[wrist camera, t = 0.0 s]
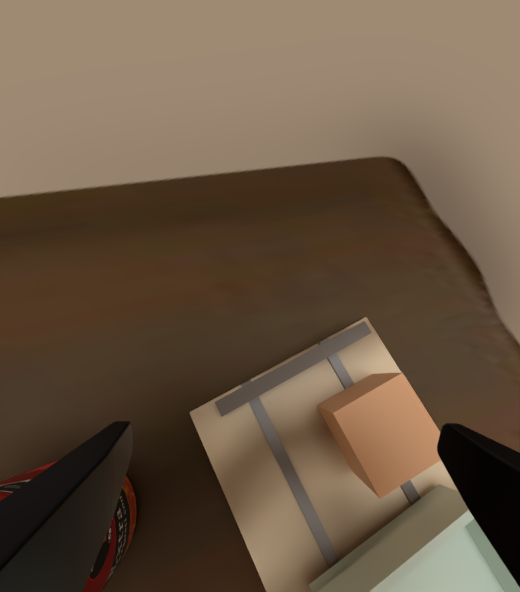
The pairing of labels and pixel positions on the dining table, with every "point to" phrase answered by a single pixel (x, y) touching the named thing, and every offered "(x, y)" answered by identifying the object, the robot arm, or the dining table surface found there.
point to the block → (382, 431)
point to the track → (301, 461)
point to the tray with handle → (423, 554)
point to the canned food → (114, 539)
